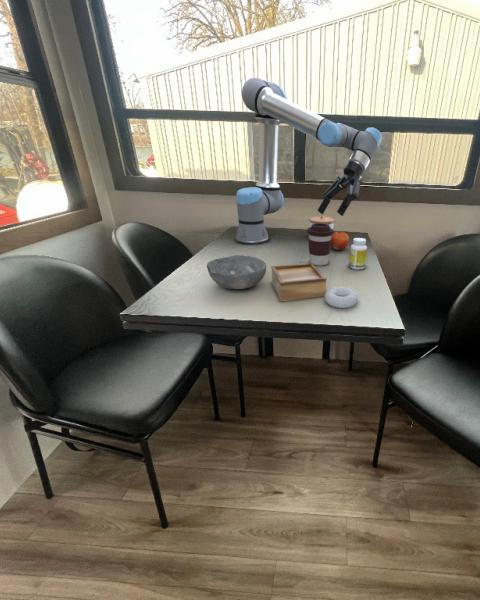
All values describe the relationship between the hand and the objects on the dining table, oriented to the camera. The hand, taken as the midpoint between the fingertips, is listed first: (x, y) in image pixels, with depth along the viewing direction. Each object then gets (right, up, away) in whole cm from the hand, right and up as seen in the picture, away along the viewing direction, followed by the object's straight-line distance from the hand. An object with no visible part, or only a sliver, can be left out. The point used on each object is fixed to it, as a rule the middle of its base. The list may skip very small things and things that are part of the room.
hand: (329, 213), depth 115 cm
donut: (+3, -35, -27) cm, 44 cm away
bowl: (-30, -30, -19) cm, 46 cm away
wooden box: (-11, -31, -20) cm, 38 cm away
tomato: (+5, -10, +21) cm, 24 cm away
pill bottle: (+11, -21, +1) cm, 24 cm away
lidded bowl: (-3, -1, +38) cm, 39 cm away
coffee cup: (-4, -19, +3) cm, 20 cm away
